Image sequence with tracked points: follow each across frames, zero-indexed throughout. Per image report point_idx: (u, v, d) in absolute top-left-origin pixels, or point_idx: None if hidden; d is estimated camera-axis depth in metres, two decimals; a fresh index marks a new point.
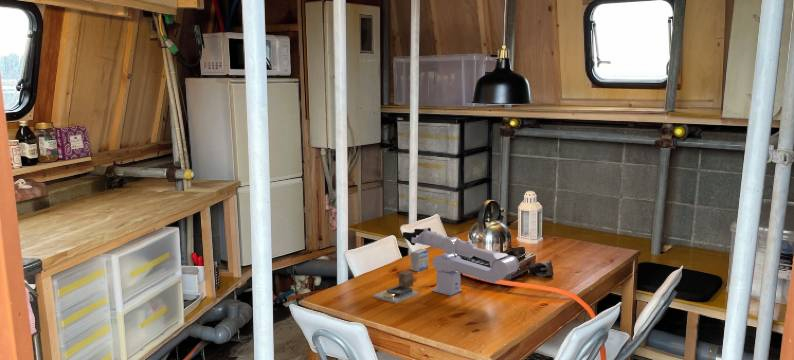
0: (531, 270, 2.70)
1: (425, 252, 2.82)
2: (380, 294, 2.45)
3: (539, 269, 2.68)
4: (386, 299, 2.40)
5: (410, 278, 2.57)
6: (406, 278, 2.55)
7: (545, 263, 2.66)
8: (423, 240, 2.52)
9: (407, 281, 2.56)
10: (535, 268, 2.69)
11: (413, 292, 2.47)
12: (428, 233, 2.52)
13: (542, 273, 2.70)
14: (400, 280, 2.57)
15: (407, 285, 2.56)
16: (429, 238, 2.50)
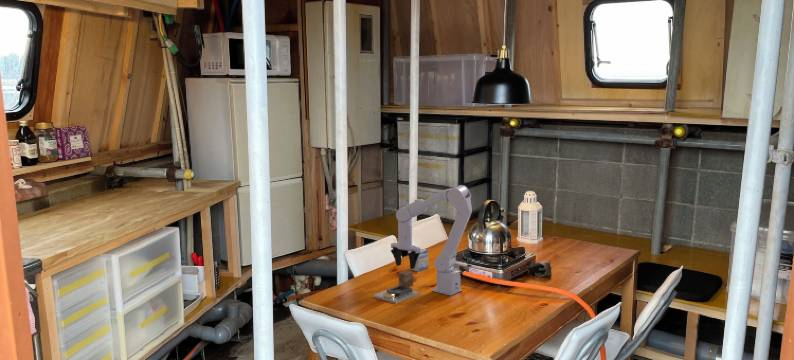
0: (530, 270, 2.71)
1: (425, 252, 2.82)
2: (380, 294, 2.45)
3: (537, 269, 2.68)
4: (386, 299, 2.40)
5: (410, 278, 2.57)
6: (406, 278, 2.55)
7: (543, 263, 2.66)
8: (411, 244, 2.54)
9: (407, 281, 2.56)
10: (534, 268, 2.69)
11: (413, 292, 2.47)
12: (403, 242, 2.53)
13: (541, 273, 2.70)
14: (400, 280, 2.57)
15: (407, 285, 2.56)
16: (408, 238, 2.53)
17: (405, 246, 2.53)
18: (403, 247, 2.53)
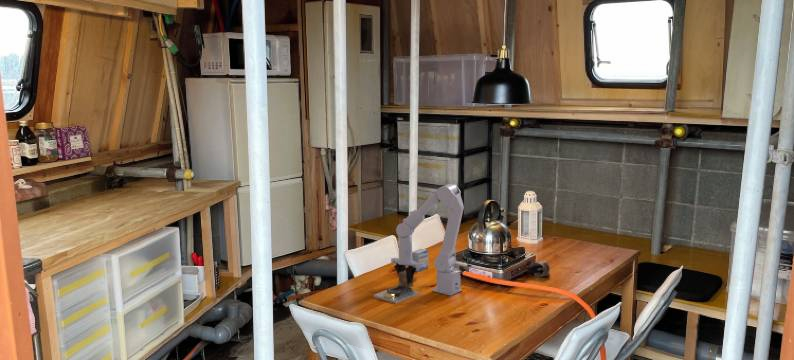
0: (528, 270, 2.71)
1: (425, 252, 2.82)
2: (380, 294, 2.45)
3: (536, 269, 2.68)
4: (386, 299, 2.40)
5: None
6: (406, 278, 2.55)
7: (542, 263, 2.66)
8: (411, 259, 2.55)
9: None
10: (532, 268, 2.69)
11: (413, 292, 2.47)
12: (403, 257, 2.54)
13: (539, 273, 2.70)
14: (400, 280, 2.57)
15: (407, 285, 2.56)
16: (408, 253, 2.54)
17: (405, 261, 2.54)
18: (403, 262, 2.54)
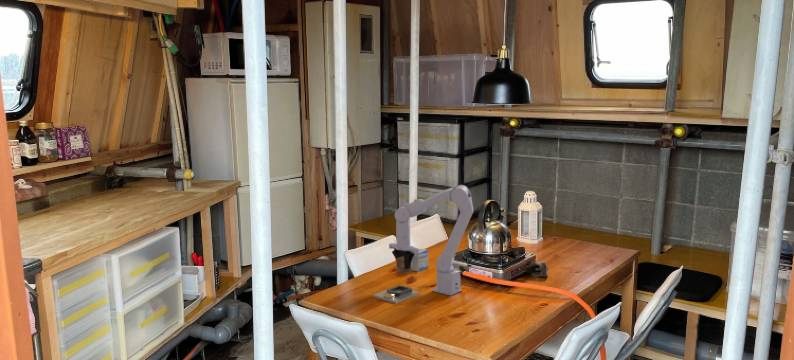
0: (527, 270, 2.71)
1: (425, 252, 2.82)
2: (380, 294, 2.45)
3: (534, 269, 2.68)
4: (386, 299, 2.40)
5: None
6: (404, 263, 2.51)
7: (539, 263, 2.66)
8: (409, 244, 2.51)
9: (404, 266, 2.52)
10: (530, 268, 2.69)
11: (413, 292, 2.47)
12: (401, 242, 2.50)
13: (538, 273, 2.70)
14: (398, 266, 2.53)
15: (405, 271, 2.52)
16: (406, 238, 2.50)
17: (403, 247, 2.50)
18: (401, 248, 2.50)
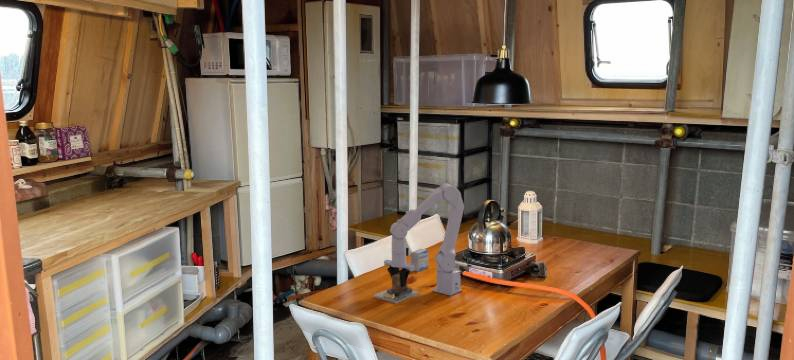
0: (525, 270, 2.71)
1: (425, 252, 2.82)
2: (380, 294, 2.45)
3: (532, 269, 2.69)
4: (386, 299, 2.40)
5: None
6: (399, 281, 2.44)
7: (538, 263, 2.66)
8: (404, 261, 2.44)
9: (400, 284, 2.45)
10: (529, 268, 2.69)
11: (413, 292, 2.47)
12: (397, 260, 2.43)
13: (536, 273, 2.70)
14: (393, 283, 2.46)
15: (401, 288, 2.45)
16: (402, 255, 2.43)
17: (399, 264, 2.43)
18: (397, 265, 2.43)
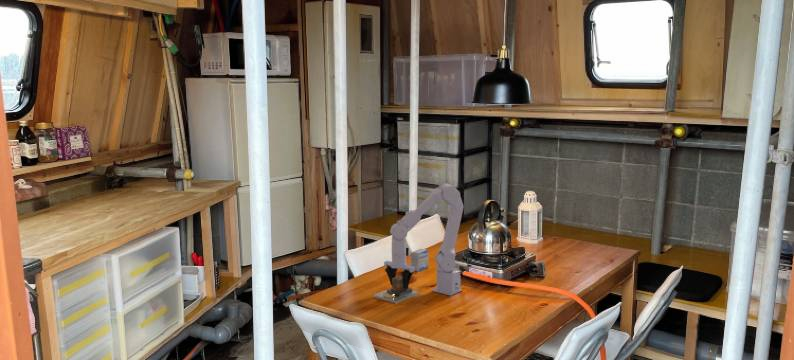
0: None
1: (425, 252, 2.82)
2: (380, 294, 2.45)
3: (531, 269, 2.69)
4: (386, 299, 2.40)
5: None
6: (399, 284, 2.44)
7: (536, 263, 2.66)
8: (405, 263, 2.44)
9: (400, 286, 2.45)
10: (528, 268, 2.70)
11: (413, 292, 2.47)
12: (397, 261, 2.43)
13: (535, 273, 2.70)
14: (393, 286, 2.46)
15: (401, 291, 2.45)
16: (402, 256, 2.43)
17: (399, 265, 2.43)
18: (397, 266, 2.43)
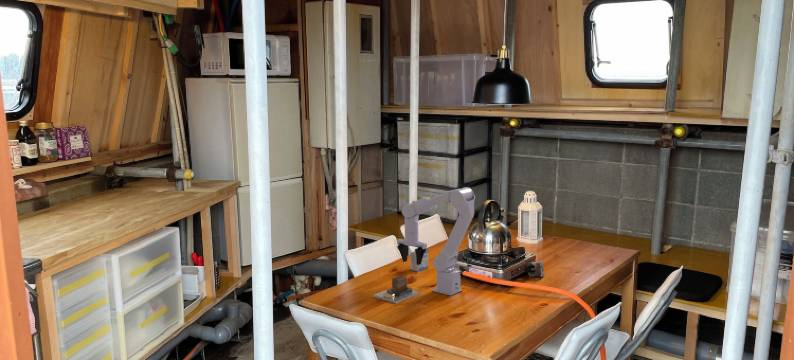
0: None
1: (425, 252, 2.82)
2: (380, 294, 2.45)
3: (530, 269, 2.69)
4: (386, 299, 2.40)
5: (404, 284, 2.47)
6: (399, 284, 2.44)
7: (534, 263, 2.66)
8: (417, 240, 2.56)
9: (400, 286, 2.45)
10: (526, 267, 2.70)
11: (413, 292, 2.47)
12: (410, 238, 2.55)
13: (534, 273, 2.70)
14: (393, 286, 2.46)
15: (401, 291, 2.45)
16: (414, 234, 2.55)
17: (412, 242, 2.55)
18: (410, 243, 2.55)
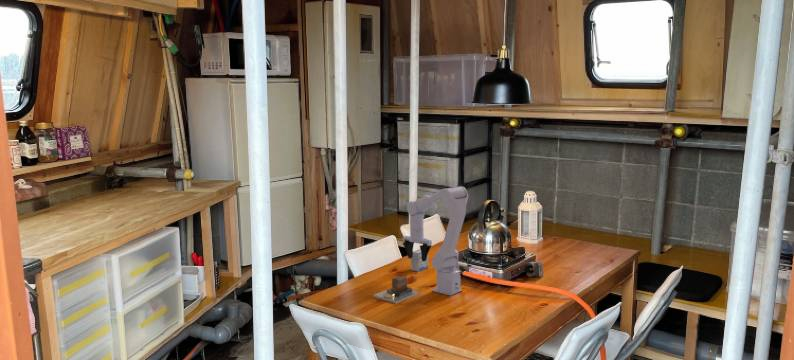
0: None
1: None
2: (380, 294, 2.45)
3: (528, 269, 2.69)
4: (386, 299, 2.40)
5: (404, 284, 2.47)
6: (399, 284, 2.44)
7: (533, 263, 2.67)
8: (422, 237, 2.61)
9: (400, 286, 2.45)
10: (525, 267, 2.70)
11: (413, 292, 2.47)
12: (415, 235, 2.60)
13: (532, 273, 2.70)
14: (393, 286, 2.46)
15: (401, 291, 2.45)
16: (419, 231, 2.60)
17: (417, 239, 2.60)
18: (415, 240, 2.60)
